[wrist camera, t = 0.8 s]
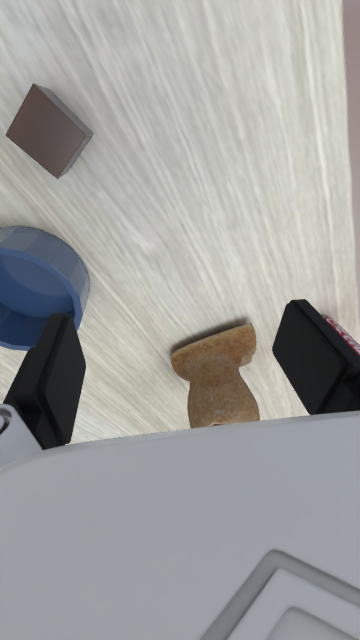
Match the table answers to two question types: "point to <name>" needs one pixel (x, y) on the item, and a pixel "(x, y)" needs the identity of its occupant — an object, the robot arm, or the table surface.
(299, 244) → the table surface
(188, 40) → the table surface
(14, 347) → the bowl
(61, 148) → the block
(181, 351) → the stone cup
